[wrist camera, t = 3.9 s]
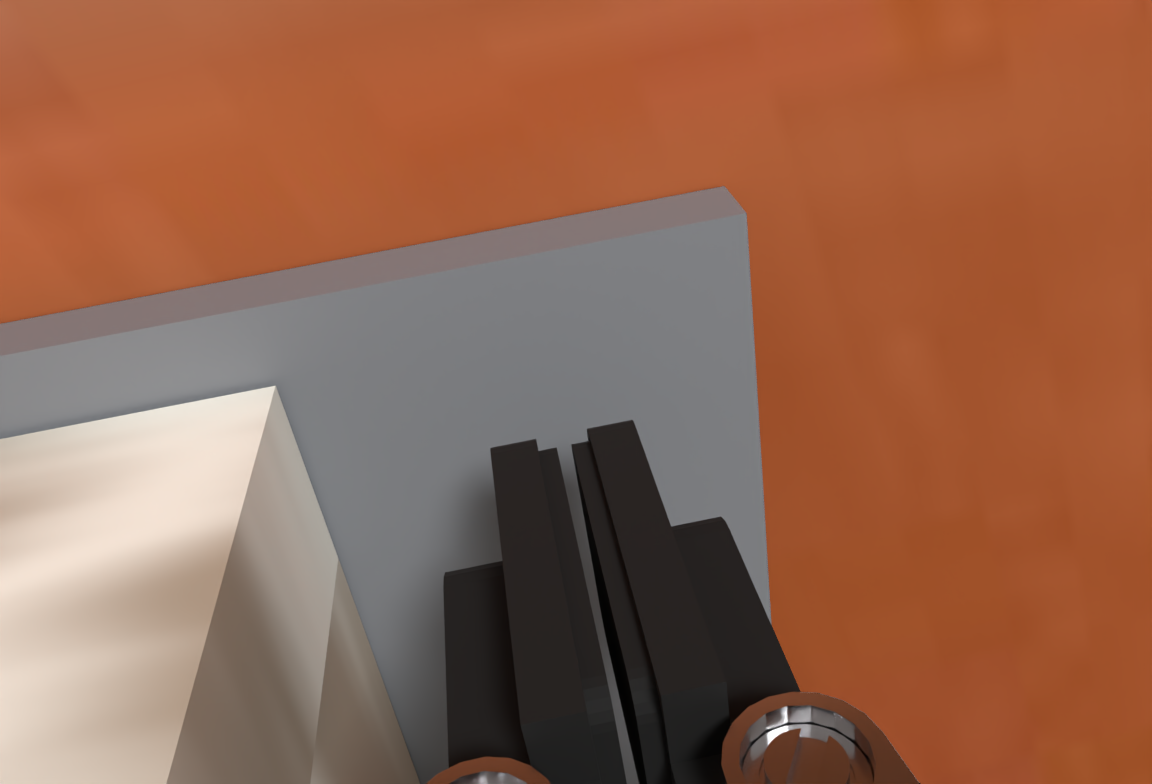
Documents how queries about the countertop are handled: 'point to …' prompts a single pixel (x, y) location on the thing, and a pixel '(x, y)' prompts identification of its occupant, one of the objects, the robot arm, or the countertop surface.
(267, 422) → the block
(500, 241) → the track
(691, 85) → the countertop surface
